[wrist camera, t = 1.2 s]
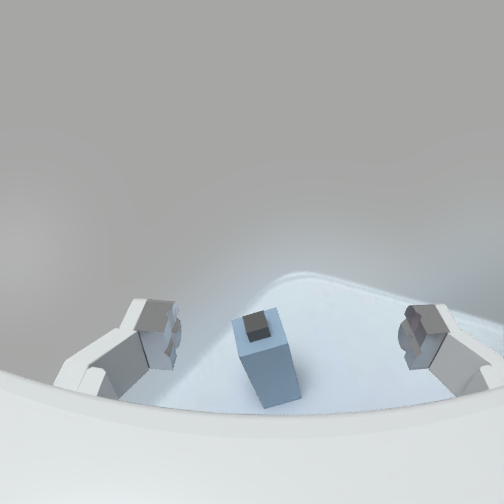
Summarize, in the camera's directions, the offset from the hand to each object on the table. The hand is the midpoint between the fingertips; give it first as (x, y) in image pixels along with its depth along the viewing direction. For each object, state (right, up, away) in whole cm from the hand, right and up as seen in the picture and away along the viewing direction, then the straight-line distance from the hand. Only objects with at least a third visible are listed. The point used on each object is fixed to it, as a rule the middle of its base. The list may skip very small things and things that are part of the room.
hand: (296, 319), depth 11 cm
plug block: (+2, -14, +26) cm, 30 cm away
